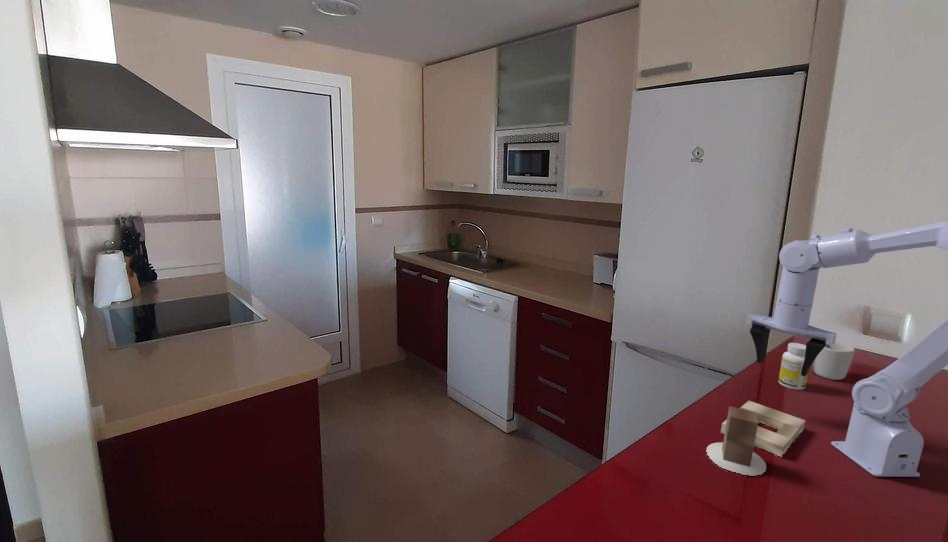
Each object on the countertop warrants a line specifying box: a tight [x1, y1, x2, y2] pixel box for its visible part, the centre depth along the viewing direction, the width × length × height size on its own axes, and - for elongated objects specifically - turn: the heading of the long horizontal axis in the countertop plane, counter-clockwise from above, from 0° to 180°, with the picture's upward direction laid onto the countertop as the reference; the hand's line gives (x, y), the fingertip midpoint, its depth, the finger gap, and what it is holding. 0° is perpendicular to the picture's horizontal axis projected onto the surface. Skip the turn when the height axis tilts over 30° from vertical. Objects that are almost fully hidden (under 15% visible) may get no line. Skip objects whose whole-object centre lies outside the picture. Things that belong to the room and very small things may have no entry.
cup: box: [811, 340, 856, 381], centre depth 116 cm, size 11×8×8 cm
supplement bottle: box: [777, 342, 809, 391], centre depth 109 cm, size 5×5×10 cm
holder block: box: [720, 400, 806, 458], centre depth 89 cm, size 10×14×2 cm
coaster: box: [705, 441, 767, 477], centre depth 80 cm, size 9×9×1 cm
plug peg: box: [722, 406, 759, 466], centre depth 80 cm, size 4×4×8 cm
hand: (781, 367), depth 93 cm, fingers open, 7 cm apart
